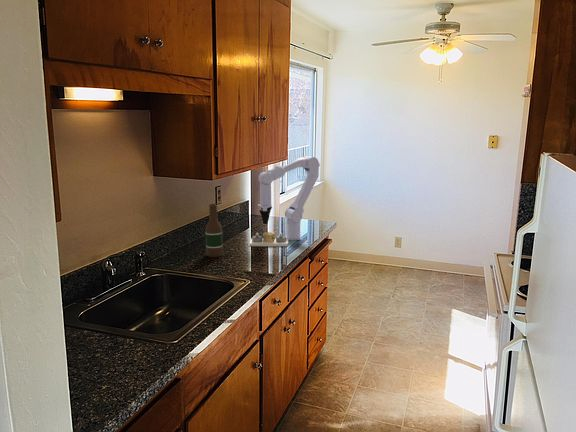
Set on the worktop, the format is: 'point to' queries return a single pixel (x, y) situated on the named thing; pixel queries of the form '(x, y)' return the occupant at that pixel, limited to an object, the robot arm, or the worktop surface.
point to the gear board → (278, 241)
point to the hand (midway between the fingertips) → (265, 222)
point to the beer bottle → (214, 234)
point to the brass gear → (269, 237)
